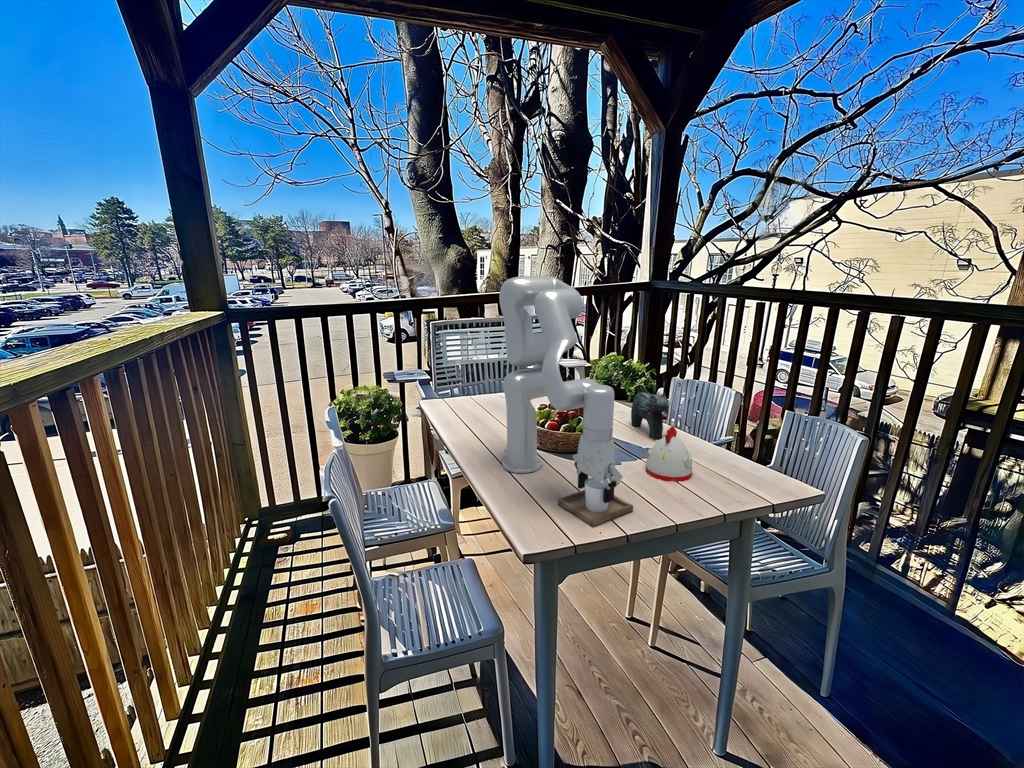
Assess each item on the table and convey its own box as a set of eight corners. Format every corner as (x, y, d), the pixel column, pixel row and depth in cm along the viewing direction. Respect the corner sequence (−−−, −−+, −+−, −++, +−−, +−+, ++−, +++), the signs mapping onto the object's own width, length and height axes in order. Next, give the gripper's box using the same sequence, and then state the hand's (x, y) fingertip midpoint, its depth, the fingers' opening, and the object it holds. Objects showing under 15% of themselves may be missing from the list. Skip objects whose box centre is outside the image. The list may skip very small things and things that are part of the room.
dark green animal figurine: (667, 440, 176) (670, 388, 171) (651, 442, 175) (654, 389, 170) (640, 424, 195) (643, 376, 190) (625, 425, 193) (628, 377, 189)
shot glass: (592, 515, 122) (593, 490, 121) (578, 503, 128) (579, 479, 127) (615, 510, 125) (616, 485, 123) (600, 498, 131) (601, 475, 129)
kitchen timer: (638, 474, 148) (641, 428, 145) (654, 460, 159) (657, 417, 155) (683, 486, 140) (687, 438, 136) (697, 470, 151) (702, 425, 147)
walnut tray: (557, 504, 129) (557, 498, 129) (595, 491, 137) (595, 485, 136) (593, 527, 118) (593, 521, 117) (632, 511, 125) (633, 505, 125)
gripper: (564, 426, 127) (563, 485, 131) (611, 446, 113) (608, 511, 117) (585, 421, 131) (583, 479, 135) (633, 439, 117) (629, 503, 121)
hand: (595, 494), depth 126 cm, fingers open, 9 cm apart
